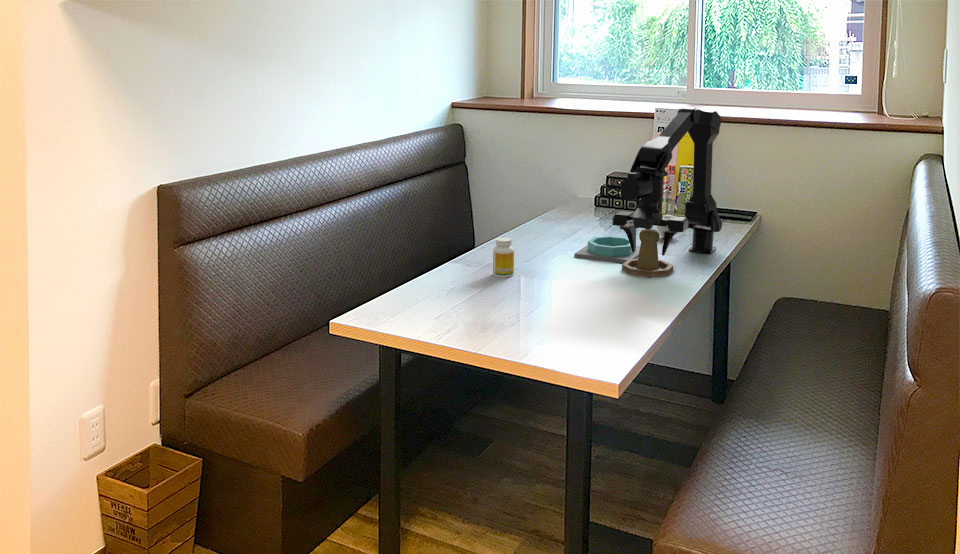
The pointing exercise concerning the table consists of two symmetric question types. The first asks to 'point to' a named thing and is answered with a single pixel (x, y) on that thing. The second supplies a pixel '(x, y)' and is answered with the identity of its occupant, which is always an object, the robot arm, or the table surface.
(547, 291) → the table surface
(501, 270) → the supplement bottle
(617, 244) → the teal ring holder base
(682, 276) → the table surface
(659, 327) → the table surface
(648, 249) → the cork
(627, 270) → the walnut ring
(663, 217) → the frog figurine
